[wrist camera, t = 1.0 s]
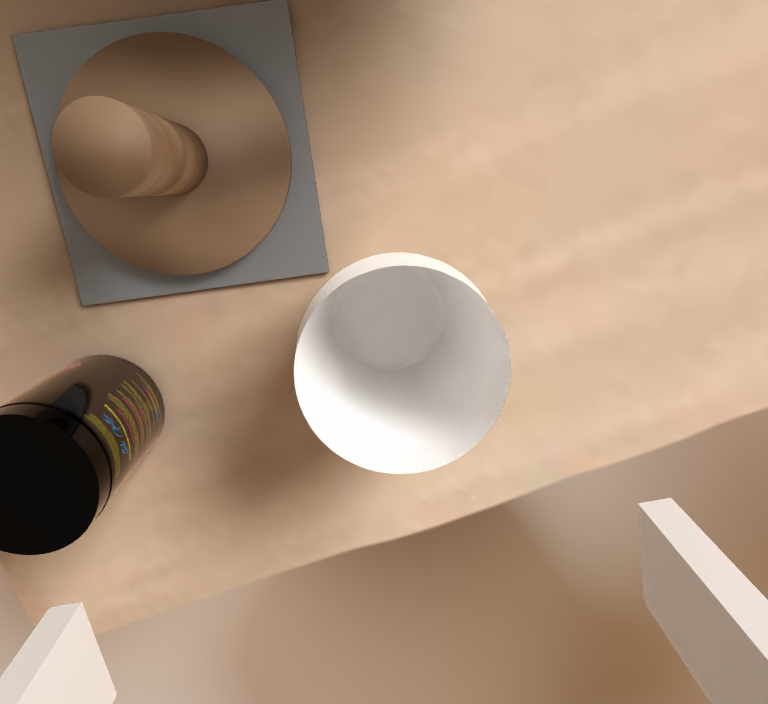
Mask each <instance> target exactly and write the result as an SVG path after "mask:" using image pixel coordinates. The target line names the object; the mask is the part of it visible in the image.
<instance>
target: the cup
mask: <svg viewBox="0 0 768 704" xmlns="http://www.w3.org/2000/svg"><path fill="white" fill-rule="evenodd" d="M510 377H511V358H510V350H509V346H508V341H507V338H506V335H505V332H504V330H503V327H502V325H501V323H500V321H499V319H498V318H497V316H496V314H495V313H494V311H493V310H492V308H491V307H490V306H489V304H488V303H487V301H486V300H485V298H484V297H483V295H482V294H481V292H480V291H479V290H478V289H477V288H476V286H475V285H474V284H473V283H472V282H471V281H470V280H469V279H468V278H466V277H465V276H464V275H463V274H461V273H460V272H459V271H457V270H456V269H454V268H452V267H451V266H449V265H447V264H445V263H443V262H441V261H439V260H436V259H433V258H430V257H427V256H423V255H419V254H412V253H386V254H379V255H375V256H371V257H367V258H365V259H362V260H359V261H357V262H355V263H353V264H351V265H349V266H347V267H346V268H344V269H342V270H341V271H339V272H338V273H337V274H335V275H334V276H333V277H332V278H331V279H330V280H328V281H327V282H326V283H325V284H324V285H323V287H322V288H321V289H320V290H319V291H318V292H317V294H316V295H315V296H314V298H313V299H312V301H311V302H310V304H309V306H308V308H307V309H306V311H305V314H304V316H303V318H302V321H301V324H300V327H299V331H298V336H297V343H296V354H295V362H294V382H295V389H296V394H297V398H298V402H299V405H300V407H301V410H302V412H303V415H304V417H305V418H306V420H307V422H308V424H309V425H310V427H311V428H312V430H313V431H314V433H315V434H316V435H317V436H318V437H319V439H320V440H321V441H322V442H323V443H324V444H325V445H326V446H327V447H328V448H330V449H331V450H332V451H333V452H335V453H336V454H337V455H339V456H340V457H342V458H344V459H345V460H347V461H349V462H351V463H353V464H355V465H358V466H360V467H362V468H366V469H369V470H372V471H377V472H382V473H390V474H411V473H418V472H424V471H428V470H432V469H435V468H438V467H441V466H443V465H446V464H448V463H450V462H452V461H454V460H456V459H457V458H459V457H461V456H462V455H464V454H465V453H467V452H468V451H469V450H471V449H472V448H473V447H474V446H475V445H477V444H478V443H479V442H480V441H481V440H482V439H483V437H484V436H485V435H486V434H487V433H488V431H489V430H490V429H491V428H492V426H493V425H494V423H495V422H496V420H497V418H498V416H499V414H500V413H501V410H502V408H503V406H504V403H505V400H506V397H507V394H508V390H509V385H510Z"/></svg>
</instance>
